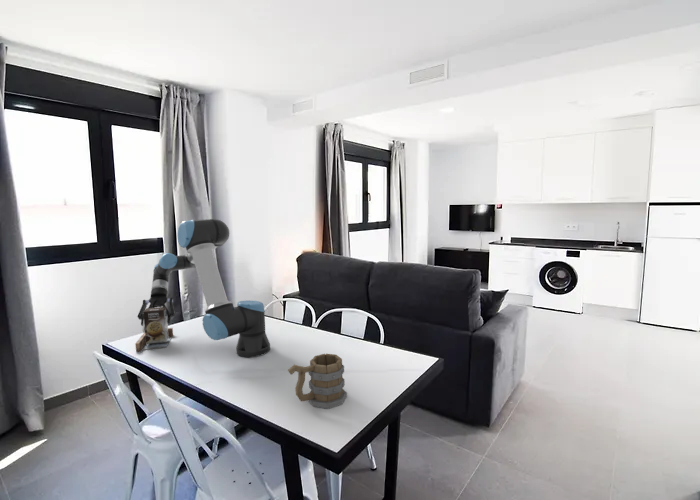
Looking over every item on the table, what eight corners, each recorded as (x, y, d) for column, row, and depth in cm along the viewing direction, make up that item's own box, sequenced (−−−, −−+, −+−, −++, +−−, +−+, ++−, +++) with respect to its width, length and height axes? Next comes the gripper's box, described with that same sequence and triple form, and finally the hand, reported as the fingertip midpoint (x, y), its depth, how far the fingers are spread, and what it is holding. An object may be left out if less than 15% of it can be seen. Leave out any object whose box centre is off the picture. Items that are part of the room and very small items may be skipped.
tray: (165, 348, 174) (164, 340, 173) (136, 351, 170) (135, 343, 170) (173, 335, 191) (172, 327, 191) (146, 337, 188) (145, 330, 188)
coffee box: (145, 344, 176) (142, 311, 173) (149, 339, 182) (146, 308, 180) (166, 342, 178) (163, 309, 176) (169, 337, 184) (166, 306, 182)
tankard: (335, 385, 135) (334, 346, 133) (352, 401, 124) (351, 359, 122) (283, 400, 126) (281, 358, 124) (296, 419, 115) (294, 373, 113)
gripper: (183, 292, 195) (180, 331, 182) (138, 296, 189) (131, 336, 176) (181, 284, 189) (178, 324, 176) (134, 288, 183) (127, 329, 170)
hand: (155, 330), depth 176 cm, fingers closed on coffee box, 9 cm apart
